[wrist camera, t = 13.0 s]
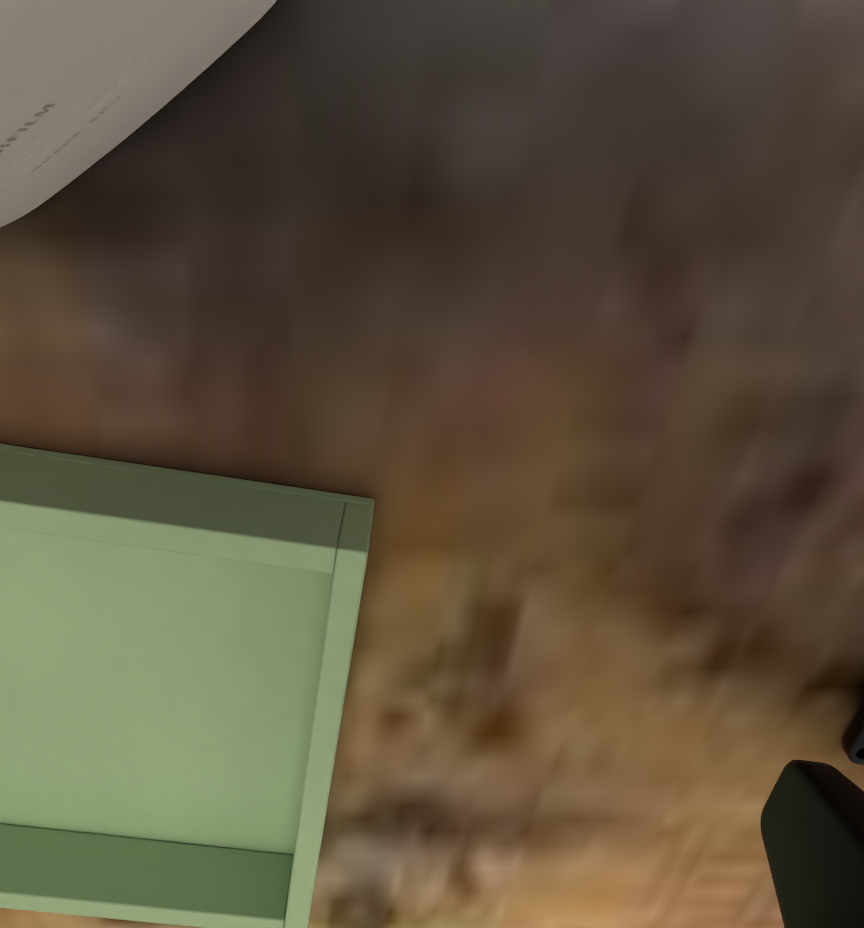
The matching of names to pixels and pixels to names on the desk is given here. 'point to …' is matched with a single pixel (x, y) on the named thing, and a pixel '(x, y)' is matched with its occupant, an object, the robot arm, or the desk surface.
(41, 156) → the white rounded tower
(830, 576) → the desk surface
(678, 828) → the desk surface
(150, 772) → the tray
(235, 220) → the desk surface
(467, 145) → the desk surface
